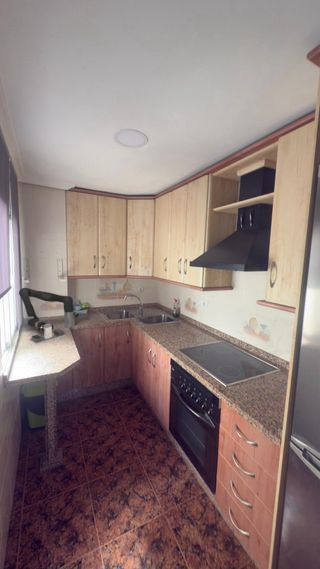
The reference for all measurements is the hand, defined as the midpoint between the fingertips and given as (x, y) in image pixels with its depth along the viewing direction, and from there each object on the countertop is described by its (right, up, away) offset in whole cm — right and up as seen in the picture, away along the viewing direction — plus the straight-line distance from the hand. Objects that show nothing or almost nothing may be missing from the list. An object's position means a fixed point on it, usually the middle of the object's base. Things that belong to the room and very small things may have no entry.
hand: (48, 329), depth 221 cm
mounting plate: (-1, -9, +2) cm, 9 cm away
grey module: (-1, -8, +2) cm, 8 cm away
